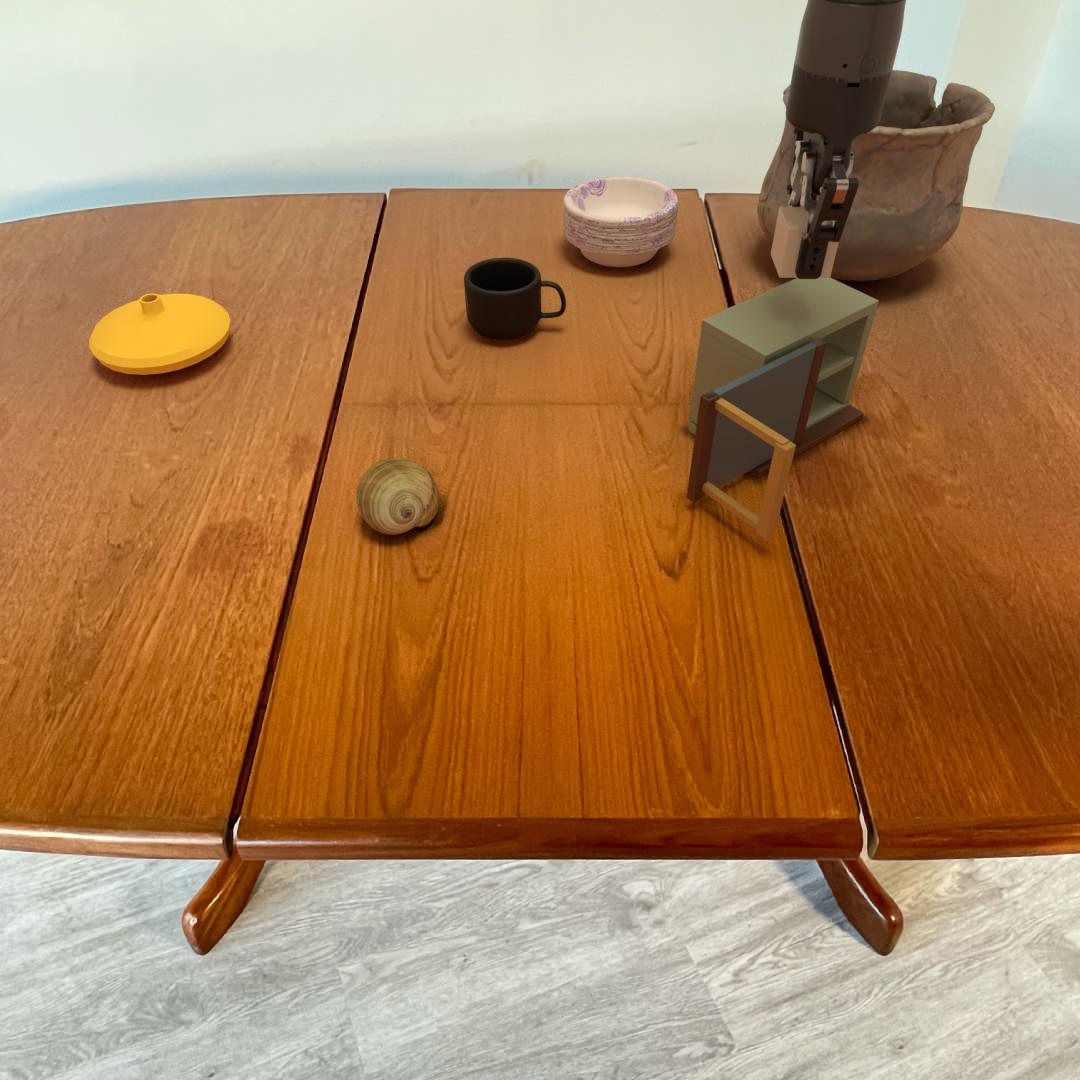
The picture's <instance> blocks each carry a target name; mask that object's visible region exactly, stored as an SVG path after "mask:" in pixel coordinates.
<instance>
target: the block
mask: <svg viewBox="0 0 1080 1080" xmlns="http://www.w3.org/2000/svg"><path fill="white" fill-rule="evenodd" d="M804 217H805V211H804V210H803V209H801V207H779V212H778V217H777V223H776V228H775V233H774V239H773V244H772V243H771V244H772V245H771V250H770V256H771V259H772V262H773V264H774V267H775V270H776V272H777V275H778V278H783V279H786V278H787V279H788V278H792V279H793V278H794V279H796V278H797V276H796V274H795V269H796V264H797V259H798V254H799V249H800V244H801V239H802V236H803V235H802V230H803V225H804ZM826 223H827V221H824V222H823V223H822V224H821V225H826ZM837 247H838V242H828V247H827V251H826V256H825V260H824V264H823V269H822V273H821V276H820V277H819V278H831V277H830V276H831V272H832V268H833V263H834V259H835V255H836V251H837Z"/></svg>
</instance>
